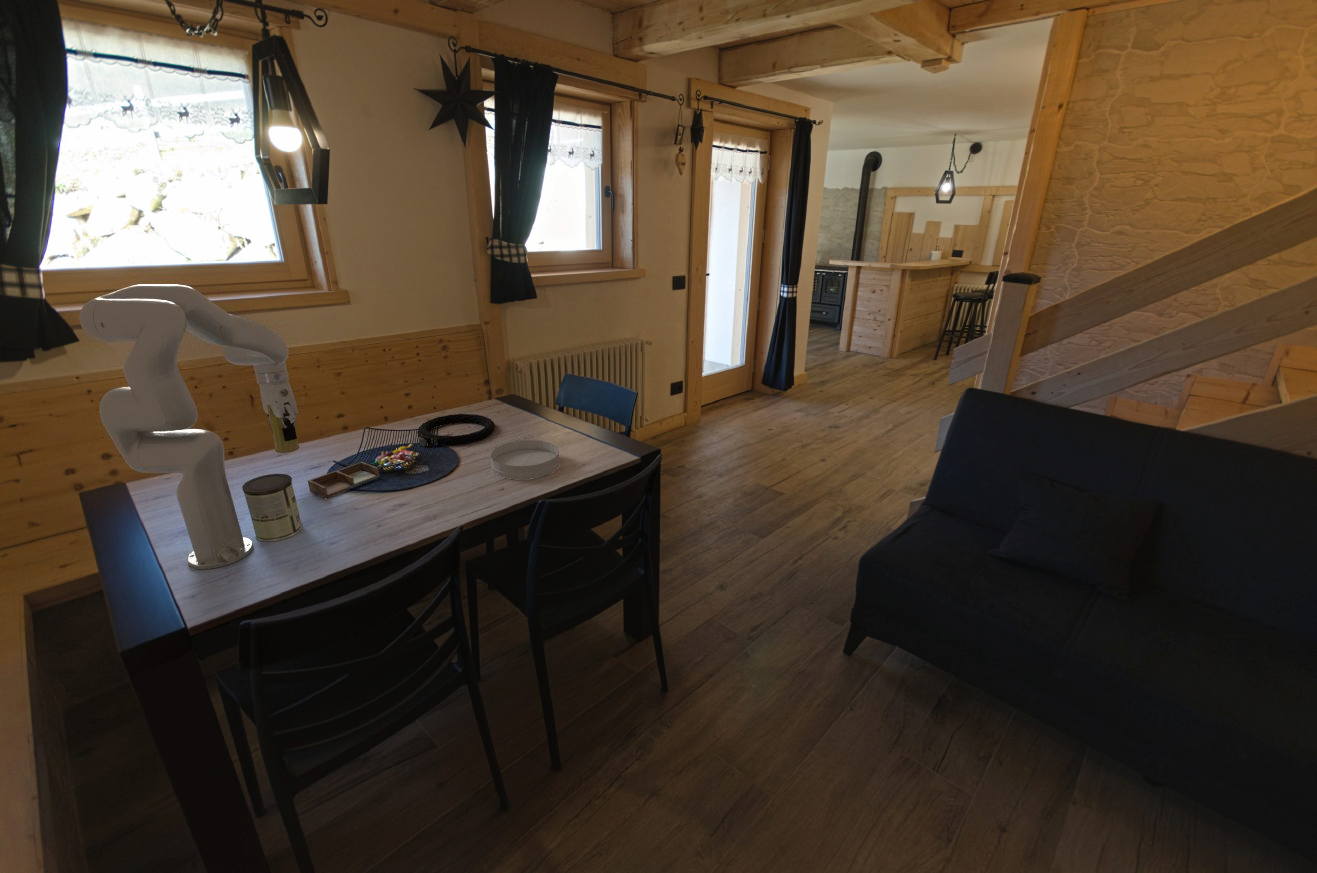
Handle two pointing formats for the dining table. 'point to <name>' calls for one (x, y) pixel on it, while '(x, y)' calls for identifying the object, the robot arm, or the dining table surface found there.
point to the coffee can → (272, 507)
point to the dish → (525, 459)
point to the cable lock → (460, 439)
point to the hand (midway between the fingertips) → (284, 437)
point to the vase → (281, 435)
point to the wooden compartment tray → (342, 479)
